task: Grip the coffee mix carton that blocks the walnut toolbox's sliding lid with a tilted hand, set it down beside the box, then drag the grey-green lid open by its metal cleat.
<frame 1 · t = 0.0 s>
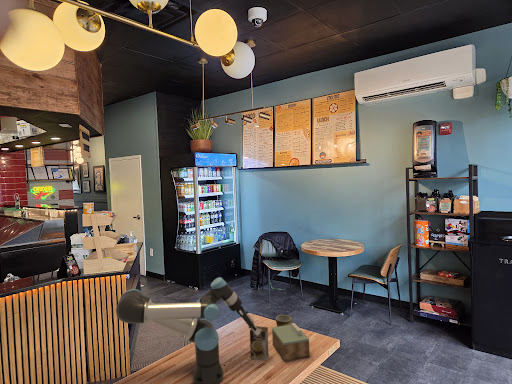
hand: (255, 328, 186), 15 cm above the table, tool tilted 35°, fingers open, 13 cm apart
ceramic cup: (282, 332, 212), on the table
lid: (289, 331, 189), point 11 cm above the table, slide at 0.0 cm
toolbox: (290, 350, 189), on the table
coffee box: (259, 357, 184), on the table
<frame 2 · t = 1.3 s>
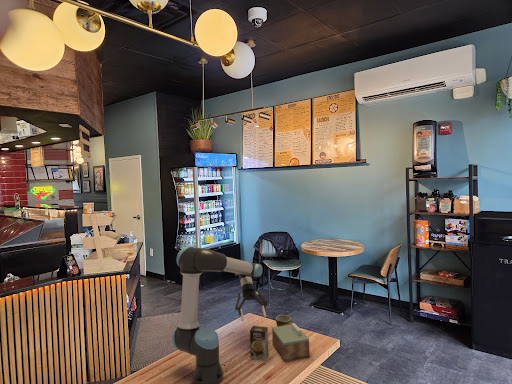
hand: (254, 318, 194), 17 cm above the table, tool tilted 45°, fingers open, 13 cm apart
nothing on the table moved.
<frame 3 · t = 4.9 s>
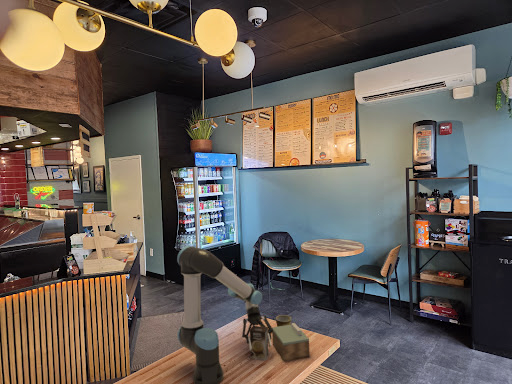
hand: (260, 347, 181), 7 cm above the table, tool tilted 45°, fingers closed on coffee box, 11 cm apart
coffee box: (259, 357, 184), on the table, touching gripper
everything else where it was.
when the fingers open (8 cm above the table, at t = 11.7 s): coffee box drops 1 cm, on the table.
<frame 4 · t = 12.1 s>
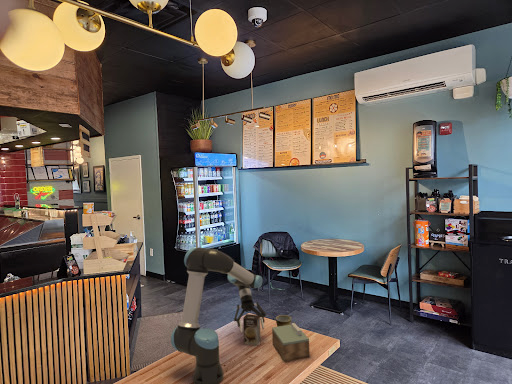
hand: (252, 330, 198), 9 cm above the table, tool tilted 45°, fingers open, 13 cm apart
coffee box: (252, 342, 201), on the table
everything else where it was.
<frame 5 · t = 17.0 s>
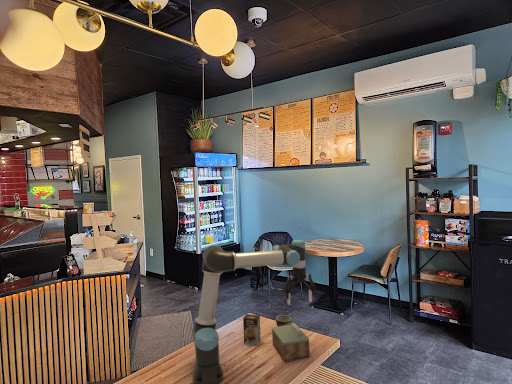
hand: (299, 302, 192), 26 cm above the table, tool pointing down, fingers open, 13 cm apart
nothing on the table moved.
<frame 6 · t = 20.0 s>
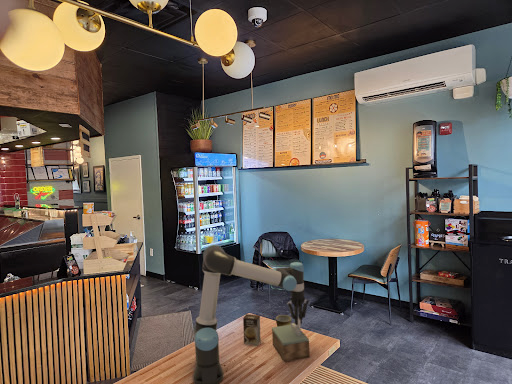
hand: (298, 329, 190), 11 cm above the table, tool pointing down, fingers closed
lid: (289, 331, 189), point 11 cm above the table, slide at 0.2 cm, touching gripper
everything else where it was.
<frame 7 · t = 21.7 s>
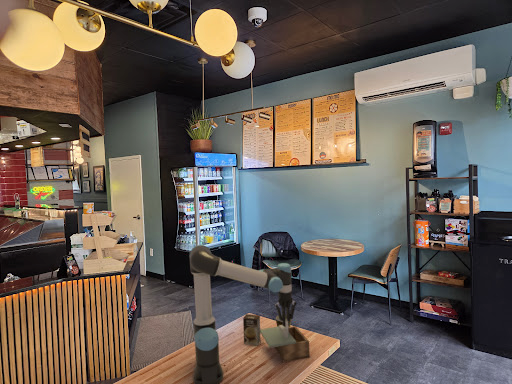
hand: (286, 331, 188), 12 cm above the table, tool pointing down, fingers closed
lid: (277, 333, 187), point 11 cm above the table, slide at 7.7 cm, touching gripper
everything else where it was.
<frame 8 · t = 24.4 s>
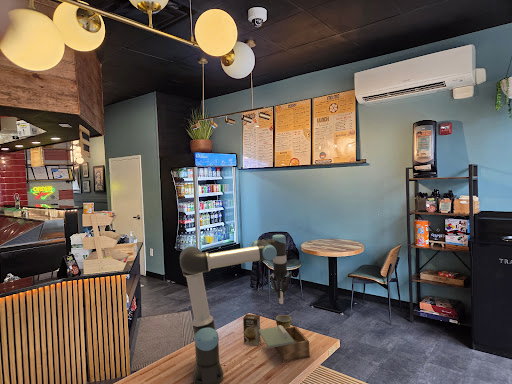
hand: (281, 303, 187), 28 cm above the table, tool pointing down, fingers closed
lid: (275, 333, 187), point 11 cm above the table, slide at 8.5 cm
everything else where it was.
at the end: coffee box inside the target area (0.1 cm from its centre), on the table; coffee box tilted 0°; lid slide at 8.5 cm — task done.
